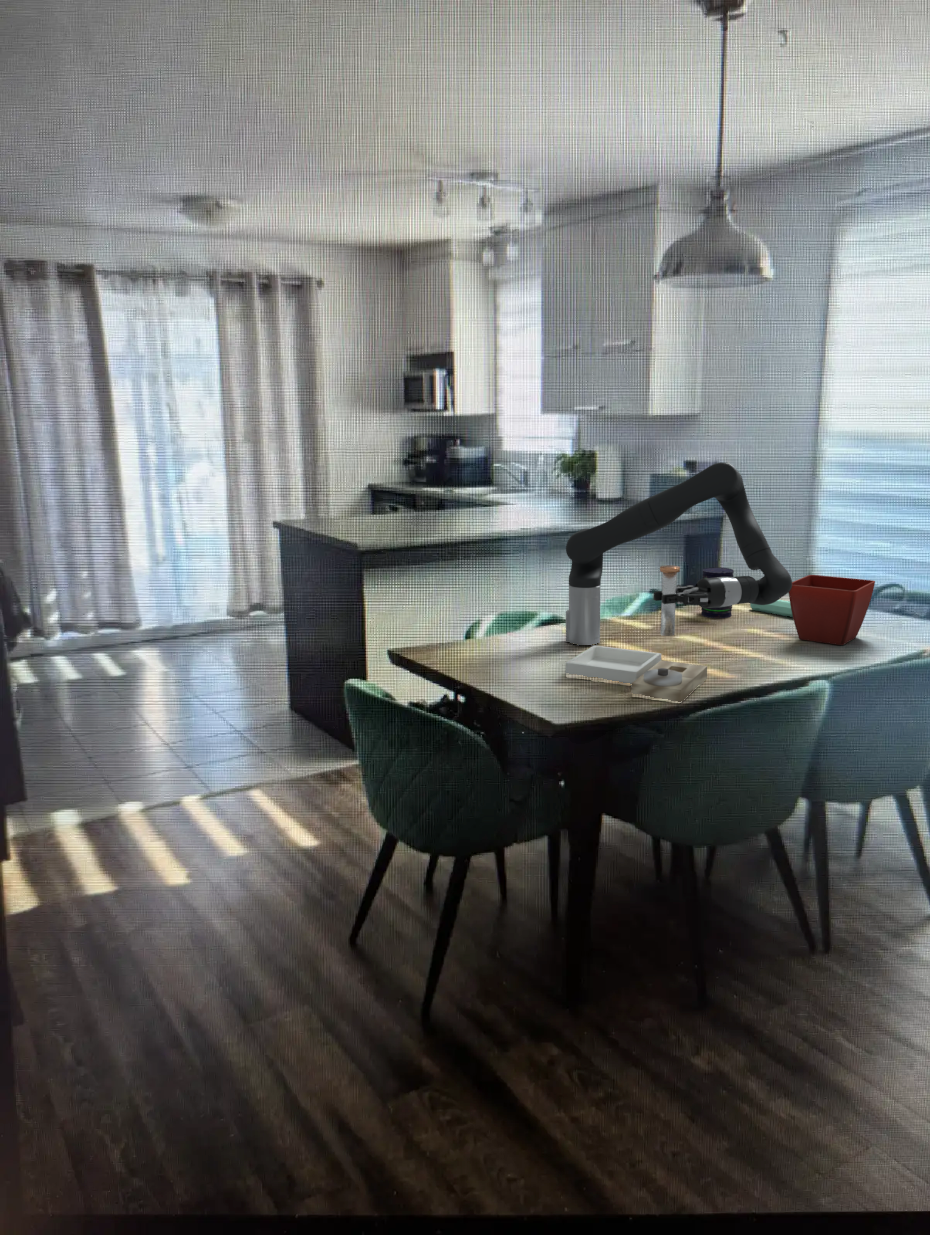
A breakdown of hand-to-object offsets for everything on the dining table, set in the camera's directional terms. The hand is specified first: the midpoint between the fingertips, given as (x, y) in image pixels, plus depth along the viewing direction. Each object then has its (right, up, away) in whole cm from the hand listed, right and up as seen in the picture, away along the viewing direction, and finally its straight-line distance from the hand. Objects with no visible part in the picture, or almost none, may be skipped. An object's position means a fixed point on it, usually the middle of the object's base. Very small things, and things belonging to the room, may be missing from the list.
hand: (658, 597), depth 225 cm
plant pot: (+59, -11, +43) cm, 73 cm away
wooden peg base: (+3, -22, 0) cm, 22 cm away
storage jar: (+35, -4, +75) cm, 82 cm away
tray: (-9, -19, +14) cm, 25 cm away
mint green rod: (+56, -5, +72) cm, 92 cm away
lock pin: (+3, -9, +3) cm, 10 cm away
